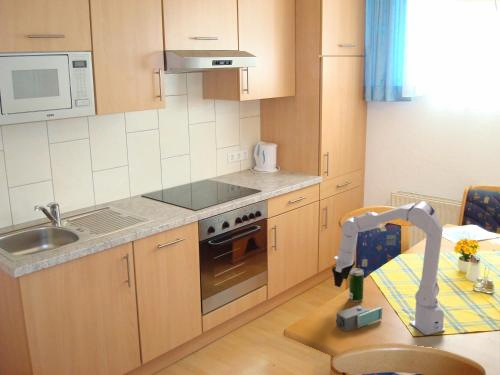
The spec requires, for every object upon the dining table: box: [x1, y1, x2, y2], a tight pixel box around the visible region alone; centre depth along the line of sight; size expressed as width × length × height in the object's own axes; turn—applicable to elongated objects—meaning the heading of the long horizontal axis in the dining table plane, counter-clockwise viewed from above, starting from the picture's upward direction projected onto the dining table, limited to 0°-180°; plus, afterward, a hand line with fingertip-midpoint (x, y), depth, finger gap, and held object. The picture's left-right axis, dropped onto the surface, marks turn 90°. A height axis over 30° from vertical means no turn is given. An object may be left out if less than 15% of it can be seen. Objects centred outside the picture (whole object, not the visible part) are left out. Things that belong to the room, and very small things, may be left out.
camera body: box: [335, 304, 370, 332], centre depth 191 cm, size 12×5×6 cm, turn 122°
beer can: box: [348, 267, 365, 303], centre depth 210 cm, size 5×5×12 cm
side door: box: [357, 306, 383, 329], centre depth 191 cm, size 12×1×4 cm, turn 122°
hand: (340, 282), depth 202 cm, fingers open, 7 cm apart
